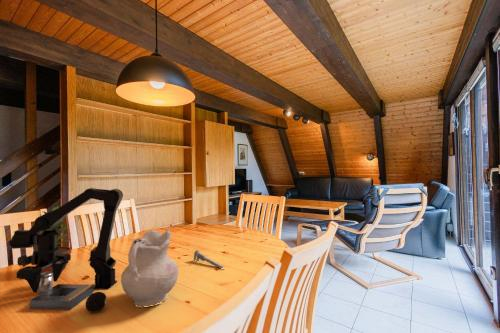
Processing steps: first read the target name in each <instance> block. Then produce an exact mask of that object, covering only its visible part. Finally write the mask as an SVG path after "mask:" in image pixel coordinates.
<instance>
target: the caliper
mask: <svg viewBox="0 0 500 333" xmlns="http://www.w3.org/2000/svg"><path fill="white" fill-rule="evenodd" d="M195 260H196V261H198V262H199V260H200V261H201V262H204V261H205V262H207V263H208V264H210V265H213V266H214V267H216V266H217V267H216V268H218V267H220V268H223V267H224V265H222V264H221V263H218V262H217V261H214V259H211V258H209V257H207V256H206V255H205V254H203V253H201V252H200V250H199V249H195V251H194V253H193V261H194V262H196V261H195ZM220 268H219V269H220Z"/></svg>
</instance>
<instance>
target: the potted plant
mask: <svg viewBox="0 0 500 333" xmlns="http://www.w3.org/2000/svg"><path fill="white" fill-rule="evenodd" d="M59 207H60V205H59V204H58V205H57V206H55V207H52V210H51V211H53V210H56V209H58V208H59ZM46 213H48V211H43V214H46ZM69 214H70V213H69ZM69 214H67V215H66V216H65V217H64V218H66V217H67V216H68V215H69ZM64 218H63V220H61V221H60V222H59V223H58V224H57V225H56V226H54V227H52V228H50V229H47V230H54V229H55V228H58V229H59V230H61V231H62V232H64V231H66V230H67V229H68V228H69V226H70V223H68V224H64V223H65V221H64ZM44 231H46V230H44ZM44 231H43V230H42V231H40V232H39V233H43V232H44ZM71 234H72V232H70V233H64V234H63V235H60V236H59V235H56V247H59V248H58V250H57V251H56V254H58V253H69V254H70V255H71V254H72V247H71V246H64V245H63V246H60V245H61V244H63V243H66V242H69V241H70V240H71V239H69V238H68V239H65V240H63V241H60V242H59V240H61V239H64V238H65V237H67V236H69V235H71ZM58 236H59V237H58ZM36 246H37V244H36ZM31 255H33V253H32V254H31ZM67 264H68V263H67ZM67 264H66V266H65V268H64V269H63V271H64V270H65V269H66V267H67ZM35 266H37V265H35ZM47 271H53V268H52V266H51V265H50V266H48V267H45V268H43V269H42V272H47ZM42 272H41V273H42Z"/></svg>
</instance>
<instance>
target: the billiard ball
mask: <svg viewBox="0 0 500 333" xmlns="http://www.w3.org/2000/svg"><path fill="white" fill-rule="evenodd" d="M107 300H108V299H107V295H106V294H105V292H102V291H96V292H93V293H92V294H91V295H90V296H88V297H87V298H86V300H85V308H86V311H87V312H90V313H97V312H100V311H101V310H103V309H104V307H105V306H106V304H107Z"/></svg>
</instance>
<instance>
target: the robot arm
mask: <svg viewBox="0 0 500 333" xmlns="http://www.w3.org/2000/svg"><path fill="white" fill-rule="evenodd" d="M123 197H124V193H123V191H122V190H121V189H119V188H113V189H104V188H103V189H101V188H95V187H91V188H87V189H85V190H84V191H83V192H81V193H80V194H78V195H76V196H75V197H74V198H72V199H70V200H69V201H67V202H65V203H64V204H63V205H61V206H59V208H58V209H56V210H53V211H52V210H51V211H49V212H48V211H47V212H48V213H46V214H45V213H43V214H42V215H39V216H37V217H36V218H35V220H34V224H33V225H32V226H31V227H30V228H29V229H17V230H15V231H13V232H14V233H13V235H12V237H11V238H10V241H9V245H10V248H11V249H13V250H15V249H27V248H29V249H30V248H33V247H34V246H35V245H36V244H37V245H36V250H33V251H32V254H33V255H32V254H31V255H26V254H24V255H21V256H19V257H17V261H16V263H17V265H18V266H22V268H20V269H18V270H17V271H16V279H20V280H25V281H26V282H27V283H28V285H29V287H30V290H31V291H32V293H33V294H36V293H37V294H38V288H39V284H40V280H41V277H42V275H40V274H41V272H42V269H43V268H45V267H48V266H50V265H51V266H52V268H53V283H55V282H58V280H59V278H60V276H61V274H62V272H63V271H64V270H65V269H66V268H65V266H66V267H67V265H66V264H68V263H69V261H72V256H71V254H69V253H58V254H56V251H57V250H58V248H59V247H60V246H58V247H56V238H57V237H56V235H58V236H59V235H61V234H63V231H61V230H59V228H55V229H54V230H47V229H50V228H52V227H54V226H56V225H57V224H58V223H59V222H61V221H62V220H63V221H64V217H65V216H66V217H67V216H68V214H70V213H72V212H73V211H75V210H76V209H78V208H80V207H81V206H83V205H85V203H87V202H89V201H90V200H92V199H93V200H97V201H101V202H102V201H103V208H104V213H103V217H102V222H101V223H102V224H101V228H100V233H99V237H98V243H97V246H95V247H93V248H92V249H91V250H90V252H89V259H88V262H89V267H91V268H92V269H93V270H94V272H95V273H94V274H95V275H94V289H98V290H100V289H103V290H104V289H105V290H108V289H110V288H112V287H113V286H114V285H116V283H117V282H118V280H116V268H114V267H115V266H116V263H117V260H116V259H114V258H113V257H112V256H111V253H112V252H111V250H112V249H111V247H110V246H111V244H110V243H111V239H112V235H113V234H112V233H113V229H114V225H115V224H114V223H115V218H116V215H117V210H118V208H119V206H120V205H121V203H122V200H123ZM66 217H65V218H66ZM42 230H43V231H44V230H46V231H44V232H43V233H41V232H40V231H42ZM36 265H37V266H36ZM64 268H65V269H64ZM63 269H64V270H63Z"/></svg>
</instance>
